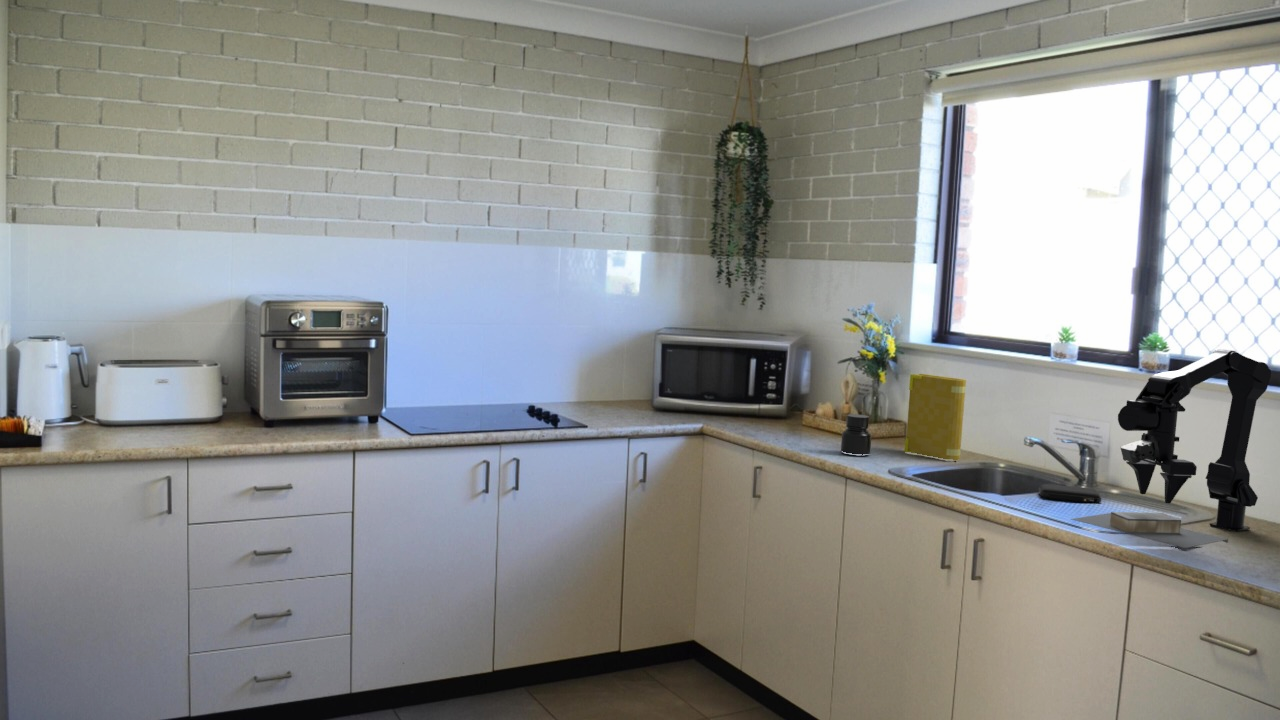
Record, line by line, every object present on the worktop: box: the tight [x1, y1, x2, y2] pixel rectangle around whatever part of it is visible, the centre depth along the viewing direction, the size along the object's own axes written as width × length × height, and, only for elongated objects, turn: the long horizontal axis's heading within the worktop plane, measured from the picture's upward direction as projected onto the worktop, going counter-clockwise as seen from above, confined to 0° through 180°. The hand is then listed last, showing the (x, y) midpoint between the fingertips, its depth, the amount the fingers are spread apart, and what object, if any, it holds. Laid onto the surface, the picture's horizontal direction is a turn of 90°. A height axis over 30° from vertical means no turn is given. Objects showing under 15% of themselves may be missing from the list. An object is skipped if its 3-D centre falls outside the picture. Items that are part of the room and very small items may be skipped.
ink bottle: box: [840, 413, 872, 455], centre depth 322 cm, size 10×9×12 cm
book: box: [903, 373, 967, 460], centre depth 324 cm, size 17×7×25 cm, turn 42°
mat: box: [1070, 512, 1229, 552], centre depth 238 cm, size 18×27×1 cm, turn 34°
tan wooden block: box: [1110, 511, 1182, 533], centre depth 238 cm, size 3×6×13 cm
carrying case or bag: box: [1038, 483, 1102, 505], centre depth 271 cm, size 11×3×15 cm
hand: (1155, 498), depth 238 cm, fingers open, 9 cm apart
